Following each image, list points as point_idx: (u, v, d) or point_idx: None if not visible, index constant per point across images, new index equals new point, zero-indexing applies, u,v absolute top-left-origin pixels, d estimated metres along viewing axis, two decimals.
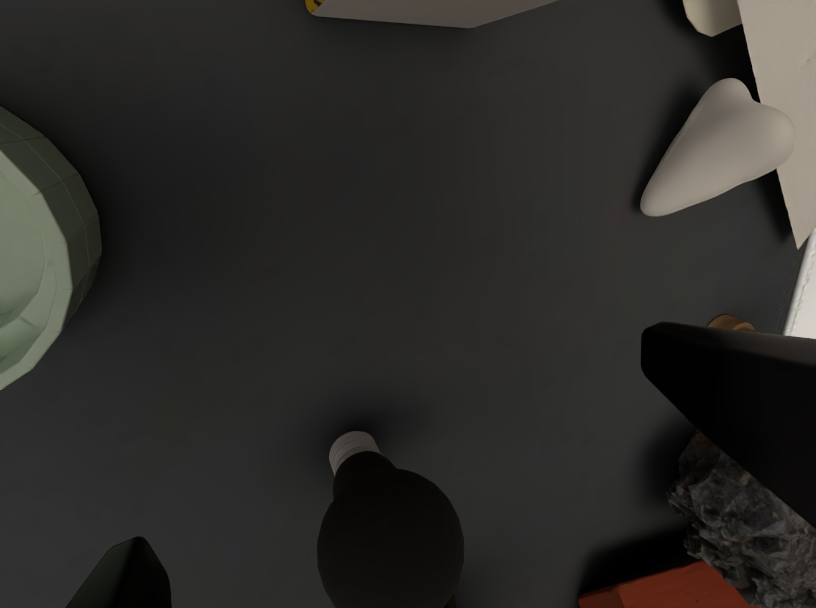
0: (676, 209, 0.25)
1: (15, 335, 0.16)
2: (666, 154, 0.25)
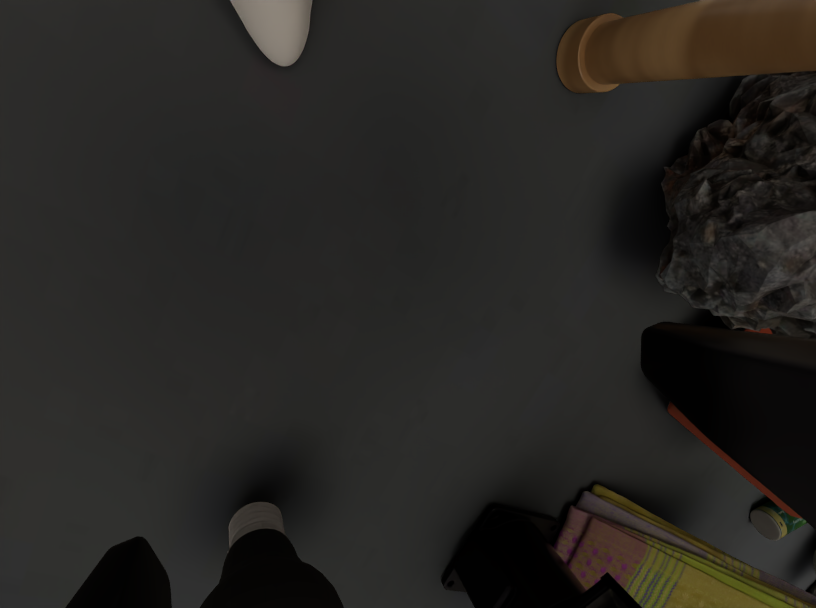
0: (295, 34, 0.15)
1: None
2: None
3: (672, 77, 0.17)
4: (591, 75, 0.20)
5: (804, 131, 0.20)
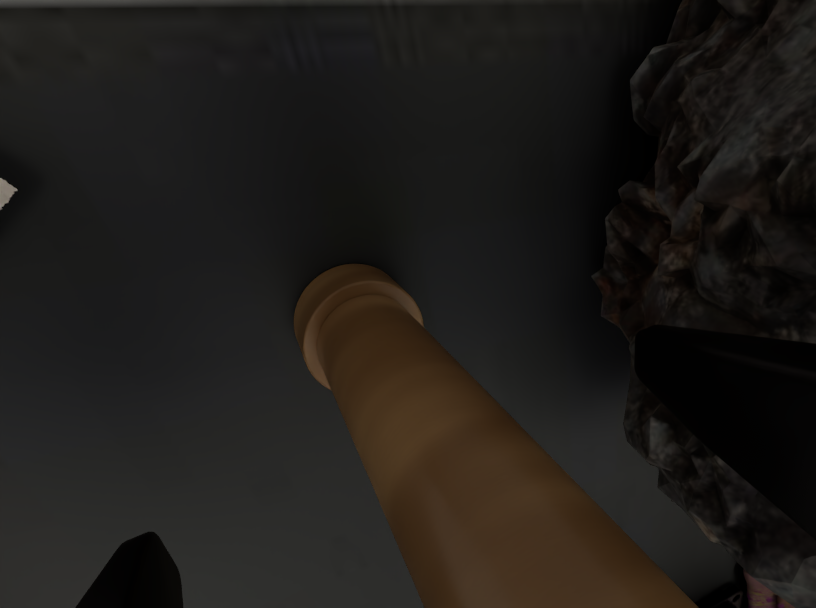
0: None
1: None
2: None
3: None
4: None
5: (792, 273, 0.09)
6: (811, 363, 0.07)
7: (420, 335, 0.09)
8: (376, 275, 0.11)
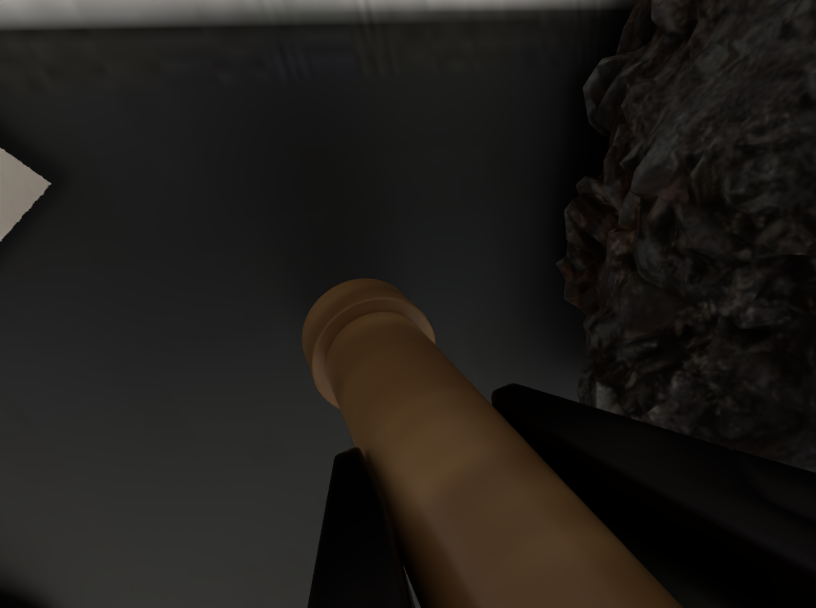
0: None
1: None
2: None
3: None
4: None
5: (706, 253, 0.10)
6: (629, 451, 0.06)
7: (434, 357, 0.09)
8: (387, 291, 0.11)
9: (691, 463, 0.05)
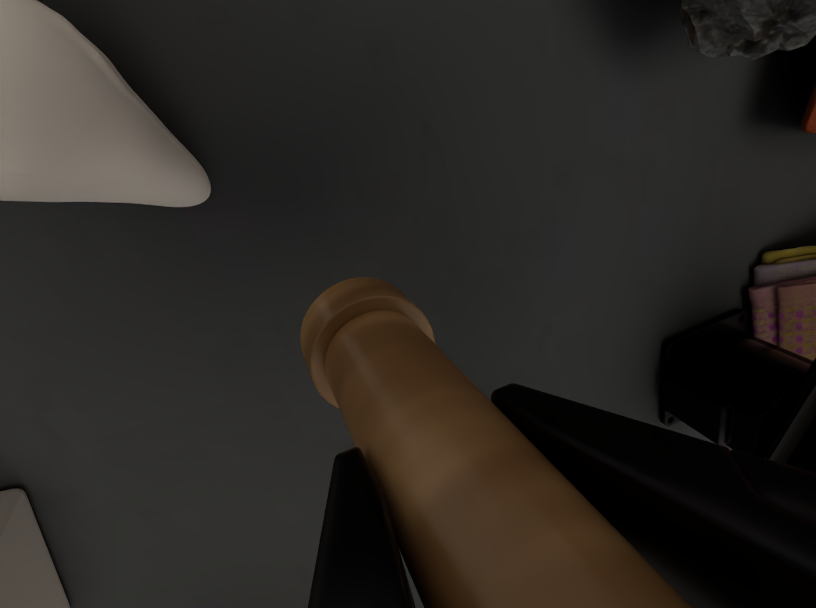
0: (189, 180, 0.15)
1: None
2: None
3: None
4: None
5: None
6: (629, 452, 0.06)
7: (433, 355, 0.09)
8: (386, 289, 0.11)
9: (691, 463, 0.05)
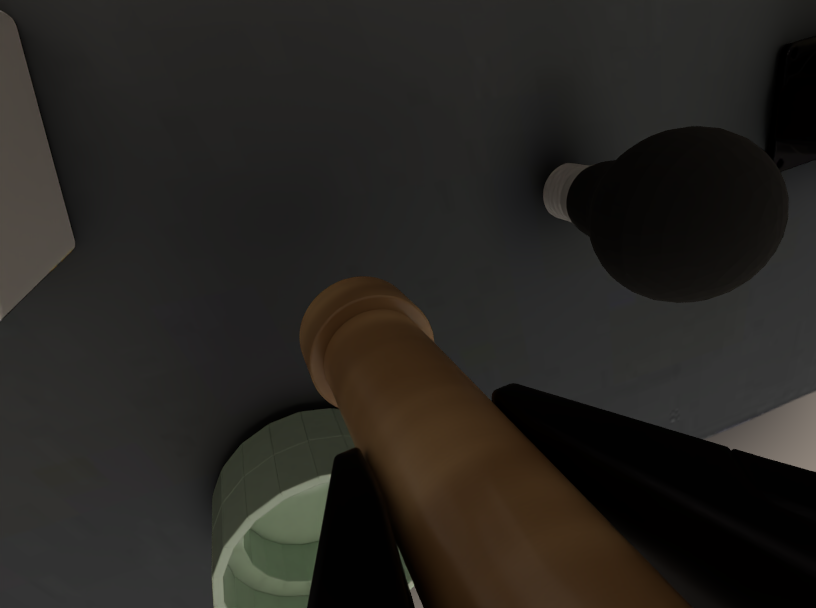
0: None
1: None
2: None
3: None
4: None
5: None
6: (629, 451, 0.06)
7: (433, 353, 0.09)
8: (385, 288, 0.11)
9: (692, 463, 0.05)
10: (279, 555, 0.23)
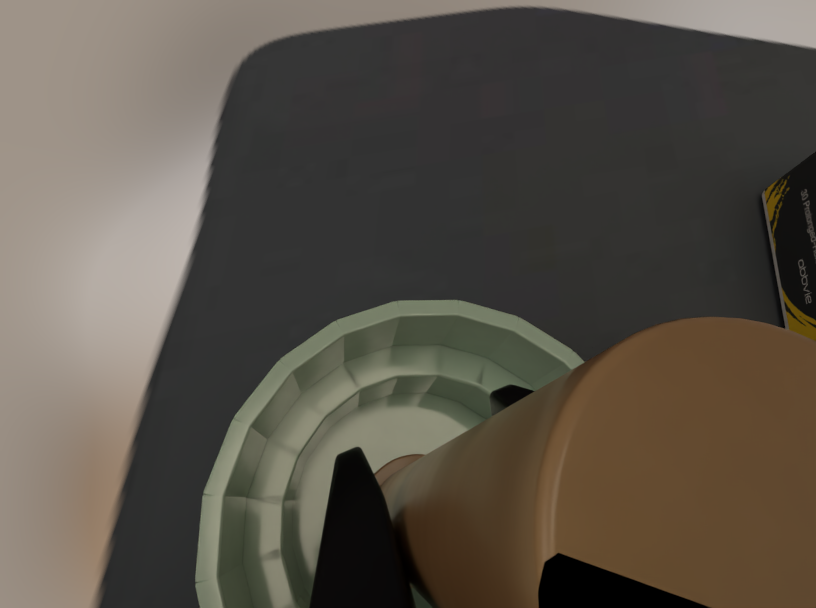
0: None
1: None
2: None
3: None
4: None
5: None
6: None
7: None
8: None
9: None
10: (334, 420, 0.13)
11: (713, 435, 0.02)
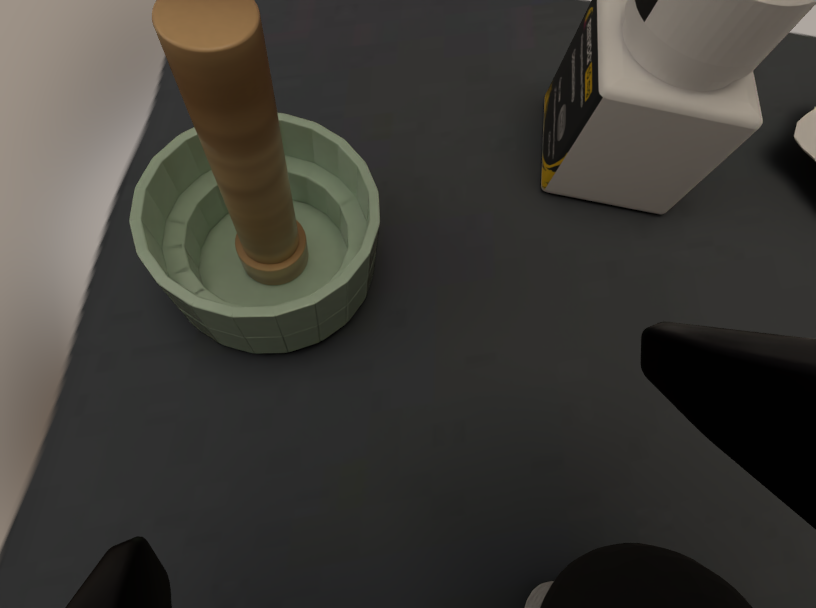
0: None
1: None
2: None
3: (220, 189, 0.17)
4: None
5: None
6: None
7: (287, 224, 0.18)
8: (301, 260, 0.21)
9: None
10: None
11: None
